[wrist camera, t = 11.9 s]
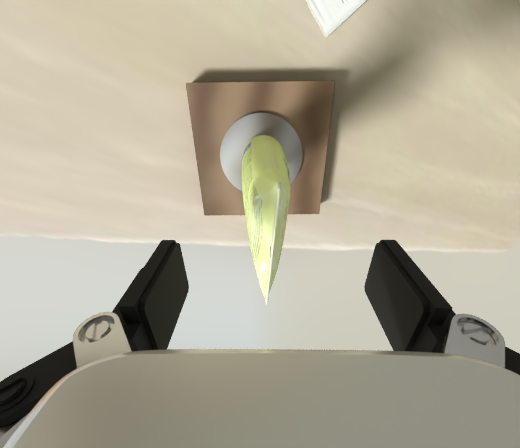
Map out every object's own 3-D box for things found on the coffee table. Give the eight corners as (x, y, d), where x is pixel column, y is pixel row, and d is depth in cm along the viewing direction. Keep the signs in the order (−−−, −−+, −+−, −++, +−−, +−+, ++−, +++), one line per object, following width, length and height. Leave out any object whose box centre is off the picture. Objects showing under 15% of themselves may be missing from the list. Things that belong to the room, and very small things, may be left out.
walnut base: (329, 81, 28) (336, 80, 25) (315, 206, 36) (319, 215, 33) (191, 83, 28) (184, 82, 25) (207, 207, 36) (203, 217, 33)
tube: (294, 163, 30) (342, 266, 13) (261, 187, 31) (265, 307, 14) (267, 124, 28) (280, 186, 11) (233, 152, 29) (197, 245, 12)
